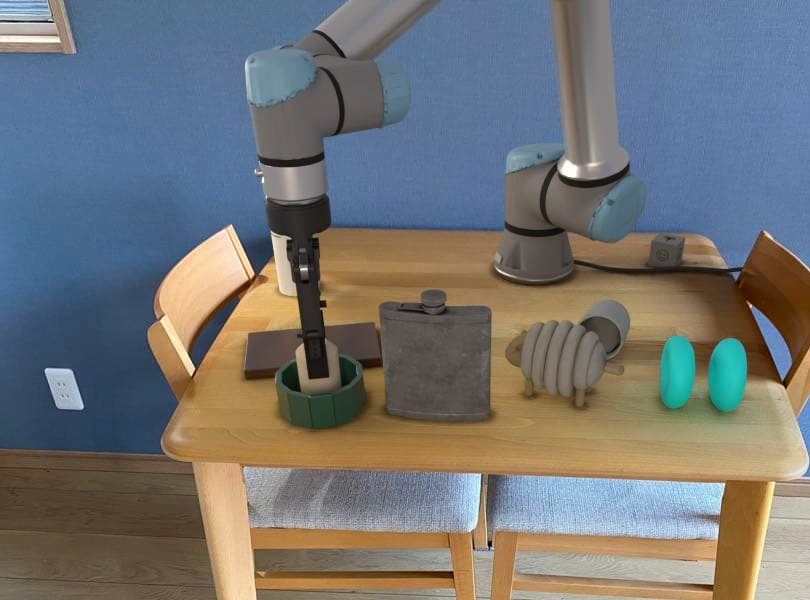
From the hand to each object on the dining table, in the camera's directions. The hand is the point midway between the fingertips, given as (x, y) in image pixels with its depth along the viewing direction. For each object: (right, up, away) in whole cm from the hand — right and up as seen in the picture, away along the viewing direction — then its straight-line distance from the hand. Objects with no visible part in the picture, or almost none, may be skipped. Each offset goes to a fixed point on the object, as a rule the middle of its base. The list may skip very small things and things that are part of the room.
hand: (318, 365), depth 102 cm
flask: (+16, -7, +2) cm, 17 cm away
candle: (0, -5, +4) cm, 7 cm away
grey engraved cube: (+58, +22, +46) cm, 77 cm away
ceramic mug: (+40, +3, +17) cm, 43 cm away
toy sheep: (+33, -4, +6) cm, 34 cm away
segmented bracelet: (0, -5, +3) cm, 6 cm away
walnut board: (-4, +3, +16) cm, 16 cm away
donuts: (+52, -5, +4) cm, 52 cm away
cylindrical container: (-11, +16, +36) cm, 41 cm away
